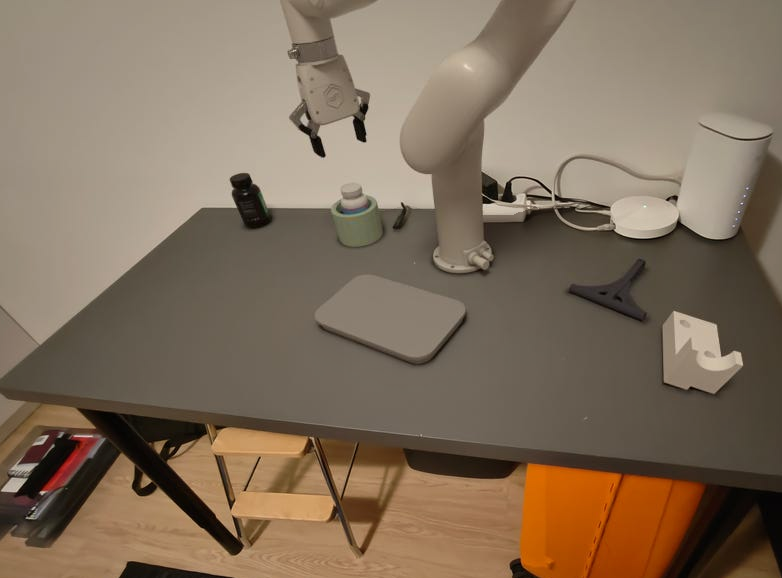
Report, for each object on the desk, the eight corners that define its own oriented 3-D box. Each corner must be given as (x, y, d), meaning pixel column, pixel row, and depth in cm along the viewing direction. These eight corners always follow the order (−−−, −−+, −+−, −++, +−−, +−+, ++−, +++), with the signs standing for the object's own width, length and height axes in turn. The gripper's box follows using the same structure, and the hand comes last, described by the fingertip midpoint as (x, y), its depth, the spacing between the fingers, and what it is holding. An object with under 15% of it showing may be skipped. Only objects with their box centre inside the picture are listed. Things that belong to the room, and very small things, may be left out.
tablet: (425, 371, 76) (423, 362, 74) (311, 327, 87) (307, 317, 85) (472, 314, 85) (471, 304, 83) (364, 280, 96) (361, 271, 94)
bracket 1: (677, 281, 87) (681, 268, 85) (641, 322, 79) (644, 310, 77) (607, 257, 94) (609, 245, 92) (568, 293, 87) (569, 281, 85)
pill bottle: (373, 238, 107) (362, 192, 99) (347, 240, 107) (334, 194, 99) (376, 225, 111) (366, 179, 103) (351, 227, 111) (339, 182, 103)
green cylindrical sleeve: (391, 234, 108) (385, 204, 103) (352, 252, 104) (344, 222, 99) (368, 219, 115) (362, 190, 109) (331, 235, 111) (322, 206, 105)
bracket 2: (710, 397, 68) (743, 365, 62) (663, 382, 69) (692, 349, 63) (703, 339, 77) (732, 306, 71) (662, 325, 77) (687, 292, 71)
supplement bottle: (277, 218, 119) (259, 173, 111) (257, 231, 115) (238, 185, 107) (259, 213, 122) (240, 169, 114) (239, 226, 118) (218, 180, 110)
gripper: (280, 65, 77) (312, 166, 89) (367, 42, 84) (386, 139, 96) (264, 60, 82) (296, 157, 94) (347, 38, 88) (368, 132, 100)
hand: (342, 148), depth 95 cm, fingers open, 9 cm apart
